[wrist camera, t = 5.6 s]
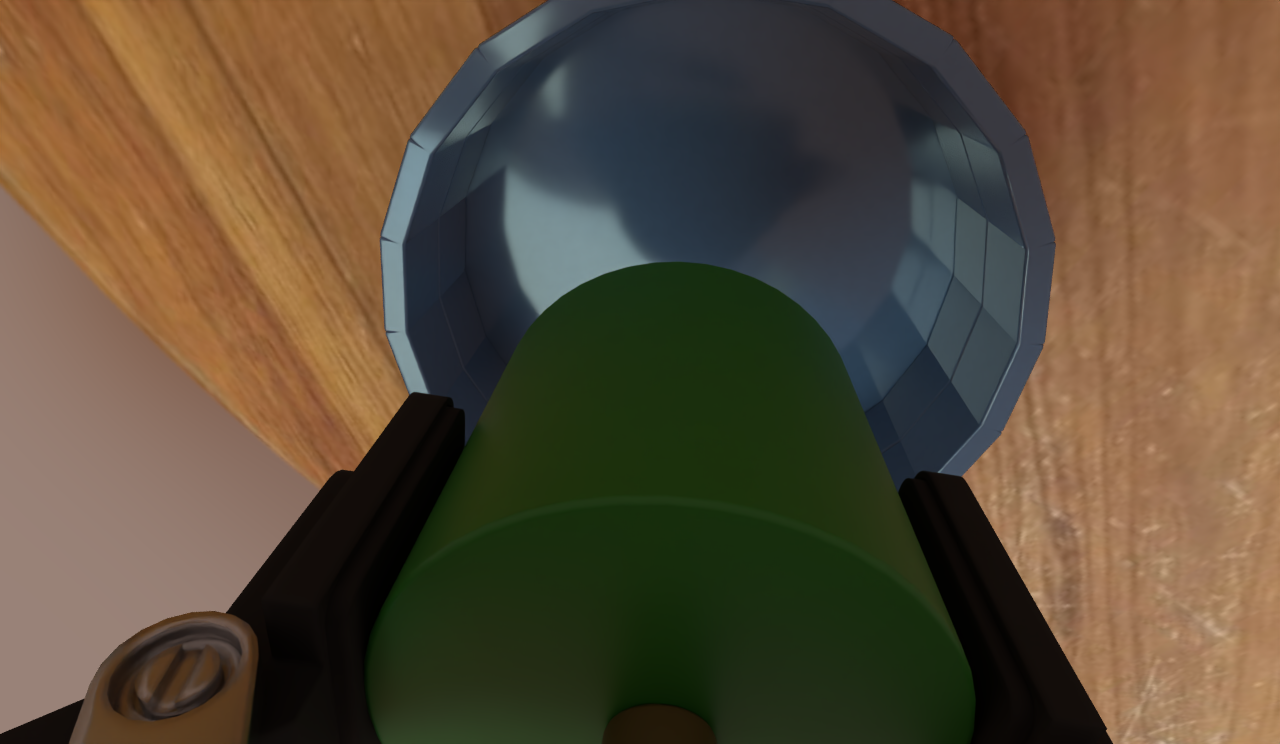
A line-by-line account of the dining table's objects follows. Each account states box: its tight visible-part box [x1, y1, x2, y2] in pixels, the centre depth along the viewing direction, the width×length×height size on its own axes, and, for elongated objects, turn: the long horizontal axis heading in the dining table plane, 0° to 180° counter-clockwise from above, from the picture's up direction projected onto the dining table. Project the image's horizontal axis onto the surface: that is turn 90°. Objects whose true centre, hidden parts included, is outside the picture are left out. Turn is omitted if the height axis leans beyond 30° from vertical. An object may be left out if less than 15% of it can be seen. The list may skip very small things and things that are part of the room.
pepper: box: [364, 262, 976, 744], centre depth 9 cm, size 6×6×7 cm
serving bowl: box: [380, 0, 1056, 492], centre depth 18 cm, size 15×15×5 cm
